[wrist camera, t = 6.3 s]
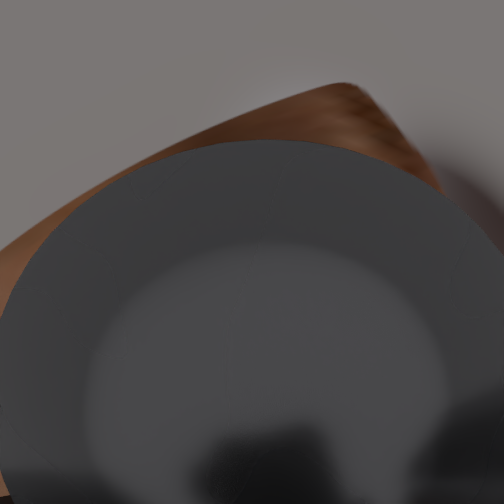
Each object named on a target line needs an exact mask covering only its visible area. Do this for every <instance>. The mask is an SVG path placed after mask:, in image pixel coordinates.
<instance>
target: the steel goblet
mask: <svg viewBox="0 0 504 504" xmlns="http://www.w3.org/2000/svg"><path fill="white" fill-rule="evenodd" d="M0 470H1V473H2V476H3V479H4V482H5V484H6V487H7V489H8V491H9V493H10V495H11V498H12V500H13V502H14V504H504V257H503V255H502V254H501V252H500V251H499V250H498V249H497V247H496V246H495V245H494V244H493V242H492V241H491V240H490V239H489V237H488V236H487V235H486V234H485V232H484V231H483V230H482V229H481V228H480V227H479V226H478V225H477V224H476V223H475V222H474V221H473V220H472V219H471V218H470V217H469V216H468V215H467V214H466V213H465V212H464V211H462V210H461V209H460V208H459V207H458V206H457V205H456V204H455V203H453V202H452V201H451V200H450V199H448V198H447V197H445V196H444V195H443V194H441V193H440V192H438V191H437V190H435V189H434V188H432V187H431V186H429V185H428V184H426V183H425V182H423V181H422V180H420V179H419V178H417V177H415V176H413V175H411V174H409V173H407V172H405V171H403V170H401V169H399V168H397V167H395V166H392V165H390V164H388V163H386V162H384V161H381V160H378V159H375V158H372V157H369V156H366V155H363V154H360V153H357V152H354V151H351V150H348V149H344V148H339V147H334V146H329V145H323V144H317V143H312V142H306V141H290V140H266V139H262V140H249V141H237V142H227V143H220V144H215V145H210V146H206V147H201V148H197V149H192V150H188V151H184V152H180V153H178V154H175V155H172V156H169V157H167V158H164V159H161V160H158V161H156V162H153V163H151V164H148V165H145V166H143V167H141V168H139V169H137V170H135V171H133V172H131V173H130V174H128V175H126V176H124V177H122V178H120V179H118V180H117V181H115V182H113V183H111V184H109V185H108V186H106V187H105V188H104V189H102V190H101V191H99V192H98V193H97V194H95V195H94V196H92V197H91V198H90V199H88V200H87V201H86V202H84V203H83V204H82V205H80V206H79V207H78V208H77V209H76V210H74V211H73V212H72V213H71V214H70V215H69V216H68V217H67V218H66V219H65V220H64V221H63V222H62V223H61V224H60V225H59V226H58V227H57V228H56V229H55V230H54V231H53V232H52V233H51V234H50V235H49V236H48V238H47V239H46V240H45V241H44V243H43V244H42V245H41V246H40V248H39V249H38V250H37V251H36V253H35V254H34V255H33V257H32V258H31V259H30V261H29V262H28V264H27V266H26V267H25V269H24V271H23V272H22V274H21V276H20V278H19V279H18V281H17V283H16V285H15V286H14V288H13V290H12V292H11V294H10V297H9V299H8V302H7V304H6V306H5V309H4V311H3V314H2V317H1V319H0Z"/></svg>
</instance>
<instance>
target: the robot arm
mask: <svg viewBox="0 0 504 504" xmlns="http://www.w3.org/2000/svg"><path fill="white" fill-rule="evenodd" d="M0 504H14V502H13V500H12V498H11V495H8V496H3V497H0Z"/></svg>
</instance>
